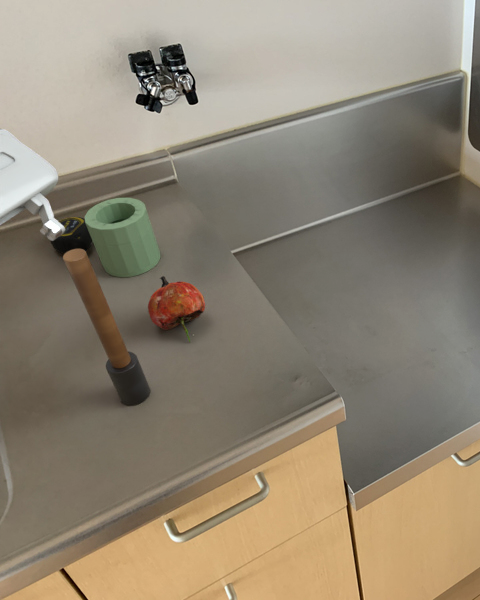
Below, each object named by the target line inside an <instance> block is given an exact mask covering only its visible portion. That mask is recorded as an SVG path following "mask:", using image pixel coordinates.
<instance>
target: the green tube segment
mask: <svg viewBox="0 0 480 600" xmlns="http://www.w3.org/2000/svg"><path fill="white" fill-rule="evenodd" d="M84 219H85V223H86V226H87V228H88V231H89V233H90V236H91V238H92V241H93V242H92V243H93V245H94V248H95V250H96V253H97V255H98V257H99V260H100V263H101V266H102V267H103V269H104V271H105V272H106V273H107V274H108V275H110V276H112V277H117V278H130V277H136V276H140V275H142V274H145V273H147V272H149V271H151V270H152V269H154V268H155V267H156V266H157V264H158V263H159V262H160V260H161V251H160V248H159V244H158V242H157V241H158V240H157V239H156V235H155V232H154V229H153V226H152V223H151V221H150V220H151V219H150V217H149V214H148V210H147V208H146V204H145V203H144V202H143V201H141V200H140V199H138V198H133V197H116V198H110V199H106V200H104V201H102V202H99V203H97V204H95V205H94V206H92V207H91V208H89V209H88V210H87V212H86V214H85V215H84Z"/></svg>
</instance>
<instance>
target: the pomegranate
mask: <svg viewBox="0 0 480 600" xmlns="http://www.w3.org/2000/svg"><path fill="white" fill-rule="evenodd" d="M159 279H160V281H161V282H162V284H161V287H159V288H157V289H156V290H155V291H154V292H153V293H152V294H151V296H150V298H149V301H148V304H147V309H148V311H147V312H148V314H149V318H150V319H151V322H152V323H153V324H154V325H155V326H157V327H159V328H161V329H162V330H166V331H169V330H173V329H174V328H176V327H177V326H179V325H180V324H181V326H182V329H183V330H184V332H185V335H186V337H187V339H188V341H189V343H191V337H190V335H189V330H188V329H187V327H186V326H185V323H186V322H191V321H193V320H195V319H198V318H200V316H201V315H202V314H203V313H204V311H205V309H206V302H205V298H204V296H203V294H202V292H201V291H200V290H199V288H197V287H196V286H195V285H194V284H191V283H190V282H186V281H181V280H180V281H176V282H175V281H174V282H168V281H167V279H166V276H164V275H163V276H160V277H159Z"/></svg>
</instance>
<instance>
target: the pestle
mask: <svg viewBox="0 0 480 600" xmlns="http://www.w3.org/2000/svg"><path fill="white" fill-rule="evenodd" d="M62 259H63V262H64V264H65V266H66V269H67V271H68V273H69V276H70V277H71V280H72V282H73V284H74V286H75V288H76V291H77V292H78V295H79V297H80V299H81V302H82V303H83V305H84V308H85V310H86V312H87V314H88V316H89V319H90V321H91V323H92V326H93V328H94V329H95V332H96V334H97V337H98V339H99V341H100V343H101V345H102V347H103V350H104V352H105V354H106V356H107V361H106V362H105V370H106V372H107V374H108V376H109V379H110V380H111V382H112V384H113V387H114V389H115V391H116V393H117V396H118V397H119V400H120V401H121V403H122V404H124V405H126V406H137V405H139V404H141V403H144V402H145V401H146V400H147V399H148V398H149V396H150V394H151V388H150V387H151V386H150V385H149V382H148V379H147V378H146V375H145V373H144V370H143V368H142V365H141V363H140V360H139V358H138V356H137V354H136V353H135V352H132V351H128V348H127V346H126V343H125V341H124V339H123V337H122V334H121V332H120V329H119V327H118V324H117V323H116V320H115V317H114V314H113V312H112V310H111V307H110V306H109V304H108V301H107V298H106V296H105V294H104V291H103V288H102V286H101V284H100V282H99V280H98V277H97V275H96V272H95V269H94V268H93V265H92V263H91V260H90V258H89V256H88V254H87V251H85V250H83V249H73V250H70V251H68V252H66V253H63V256H62Z"/></svg>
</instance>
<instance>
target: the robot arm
mask: <svg viewBox="0 0 480 600" xmlns="http://www.w3.org/2000/svg"><path fill="white" fill-rule="evenodd" d="M58 182H59V174H58V170H57V169H56V167H54V166H53V164H52V163H50V162H49V161H47V160H46V159H45V158H44V157H42V155H39V153H37V152H36V151H34V150H33V149H31V147H29V146H27V145H26V144H24V143H23V142H21V141H20V140H19V139H18V138H17V137H16V136H15V135H13V133H11V132H10V131H9V130H7V129H5V128H0V226H2V225H4V224H5V223H7V222H9V221H10V220H12V218H14V217H16V216H17V215H19V214H21V213H22V212H24V211H26V210H27V211H28V212H30V213H31V214H32V215H33V216H34V215H35V216H36V215H37V214H38V215H39V218H40V220H41V222H42V224H43V225H42V227H41V228H40V229H39V232H40V233H41V234H42V235H43V236H46V237H47V239H48V240H49V241H50V240H51V241H54V240H55V239H57V238H58V237H59V236H61V235H62V234H63V233H64V231H65V228H64V226H63V225H62V224H61V223H59V222H58V221H59V220H57V219H56V218H55V214H54V212H53V209H52V207H51V204H50V201H49V199H47V198H46V197H47V196H48V195H49V194H51V193H52V192H53V190H54V189H55V187H56V185H57V183H58Z"/></svg>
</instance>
